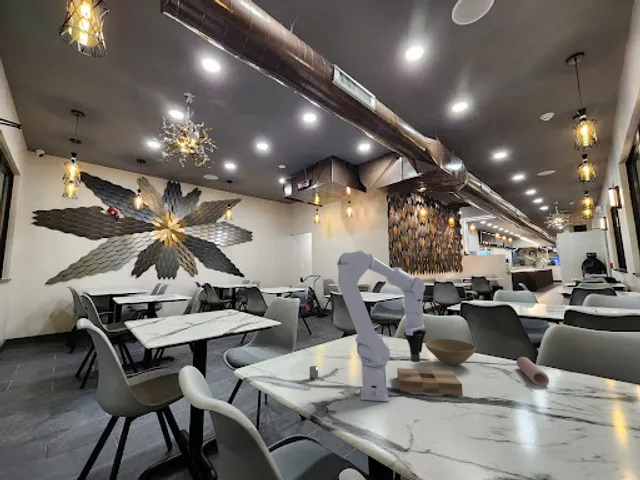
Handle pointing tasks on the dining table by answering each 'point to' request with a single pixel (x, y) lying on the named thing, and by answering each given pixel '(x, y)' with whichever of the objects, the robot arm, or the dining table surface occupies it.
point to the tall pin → (415, 357)
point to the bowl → (450, 350)
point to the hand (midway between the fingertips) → (416, 353)
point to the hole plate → (429, 381)
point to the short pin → (313, 372)
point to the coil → (533, 371)
